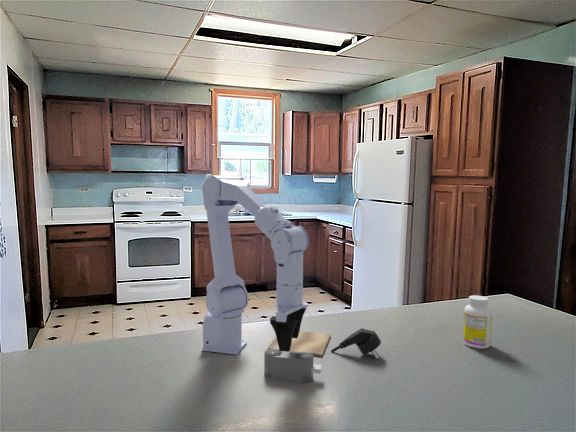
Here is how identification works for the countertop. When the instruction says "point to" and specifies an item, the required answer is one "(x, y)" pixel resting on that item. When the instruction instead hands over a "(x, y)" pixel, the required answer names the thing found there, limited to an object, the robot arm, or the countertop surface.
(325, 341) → the oak board
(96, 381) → the countertop surface
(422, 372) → the countertop surface
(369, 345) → the power plug
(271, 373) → the grey capsule with tab
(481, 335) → the supplement bottle
